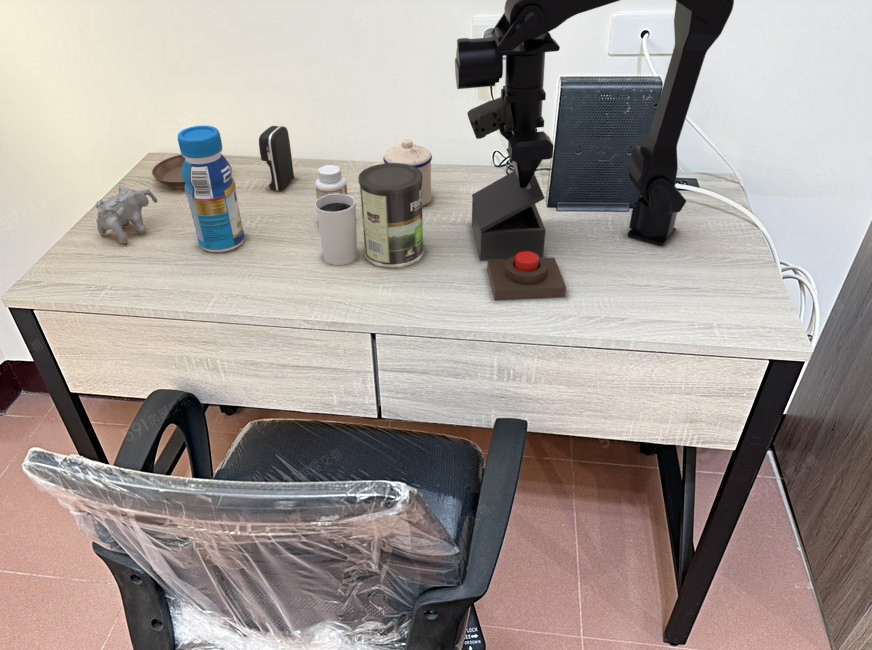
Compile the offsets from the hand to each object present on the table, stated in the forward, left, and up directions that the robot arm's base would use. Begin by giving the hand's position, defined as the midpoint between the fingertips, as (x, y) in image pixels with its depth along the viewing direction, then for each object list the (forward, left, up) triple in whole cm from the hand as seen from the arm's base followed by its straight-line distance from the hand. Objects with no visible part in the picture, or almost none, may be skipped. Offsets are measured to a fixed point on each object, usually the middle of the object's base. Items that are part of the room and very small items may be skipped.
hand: (520, 180), depth 117 cm
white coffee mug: (+22, +21, -11) cm, 33 cm away
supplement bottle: (+31, +12, -11) cm, 36 cm away
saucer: (+69, +14, -11) cm, 72 cm away
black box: (+1, +1, -11) cm, 11 cm away
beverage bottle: (+43, +29, -11) cm, 54 cm away
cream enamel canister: (+26, -2, -11) cm, 29 cm away
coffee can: (+15, +15, -11) cm, 24 cm away
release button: (-8, +11, -8) cm, 16 cm away
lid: (+2, +1, -3) cm, 4 cm away
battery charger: (+51, +6, -11) cm, 53 cm away
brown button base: (-8, +11, -11) cm, 18 cm away
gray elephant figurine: (+61, +35, -11) cm, 72 cm away
